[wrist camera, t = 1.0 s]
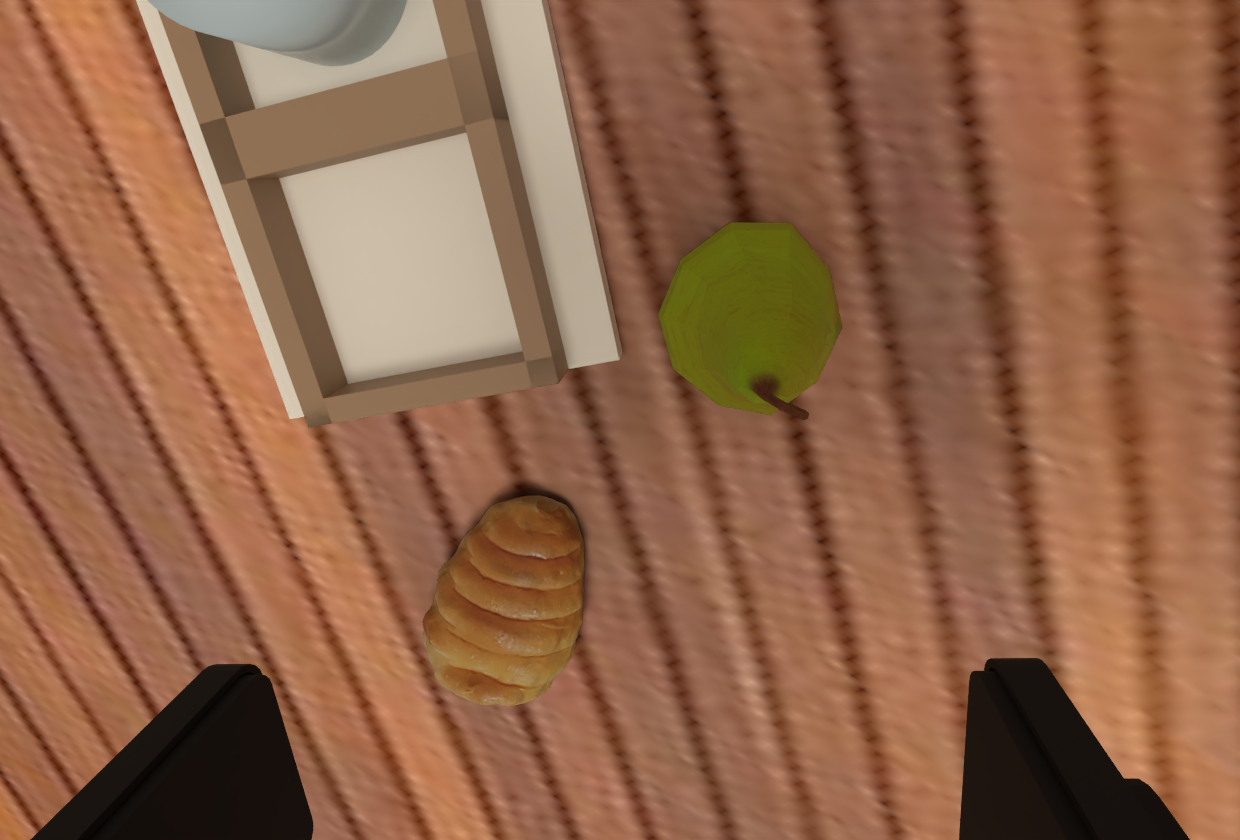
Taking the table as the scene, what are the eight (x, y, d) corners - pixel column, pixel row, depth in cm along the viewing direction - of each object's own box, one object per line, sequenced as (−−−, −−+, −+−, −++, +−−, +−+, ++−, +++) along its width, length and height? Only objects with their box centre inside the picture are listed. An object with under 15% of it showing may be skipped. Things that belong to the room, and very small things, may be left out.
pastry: (475, 463, 31) (446, 501, 27) (623, 513, 31) (613, 558, 28) (427, 633, 34) (396, 688, 31) (561, 679, 34) (546, 739, 31)
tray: (491, -262, 22) (457, -329, 19) (622, 352, 28) (612, 373, 25) (110, -131, 25) (28, -173, 22) (305, 409, 31) (261, 435, 28)
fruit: (666, 215, 27) (635, 247, 15) (837, 217, 26) (938, 252, 15) (661, 381, 29) (631, 517, 17) (820, 387, 28) (897, 532, 17)
